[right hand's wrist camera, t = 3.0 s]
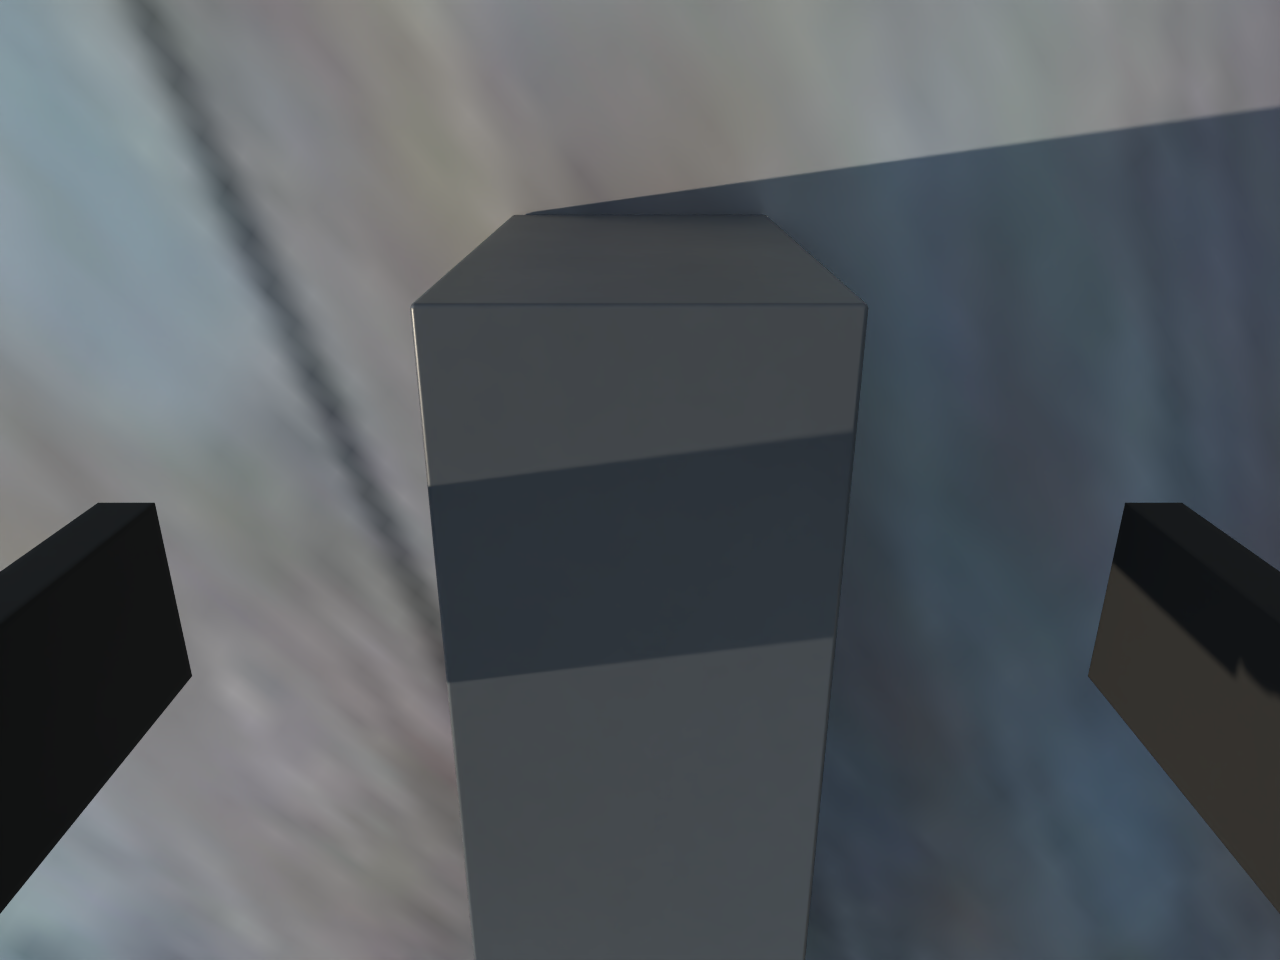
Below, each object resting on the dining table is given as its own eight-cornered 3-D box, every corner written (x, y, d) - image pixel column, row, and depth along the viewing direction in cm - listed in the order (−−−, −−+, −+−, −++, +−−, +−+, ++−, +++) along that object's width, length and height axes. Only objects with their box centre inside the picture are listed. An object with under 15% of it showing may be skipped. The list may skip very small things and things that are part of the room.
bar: (512, 214, 18) (408, 303, 10) (766, 214, 18) (870, 303, 10) (557, 1074, 28) (523, 1470, 20) (722, 1074, 28) (756, 1471, 20)
